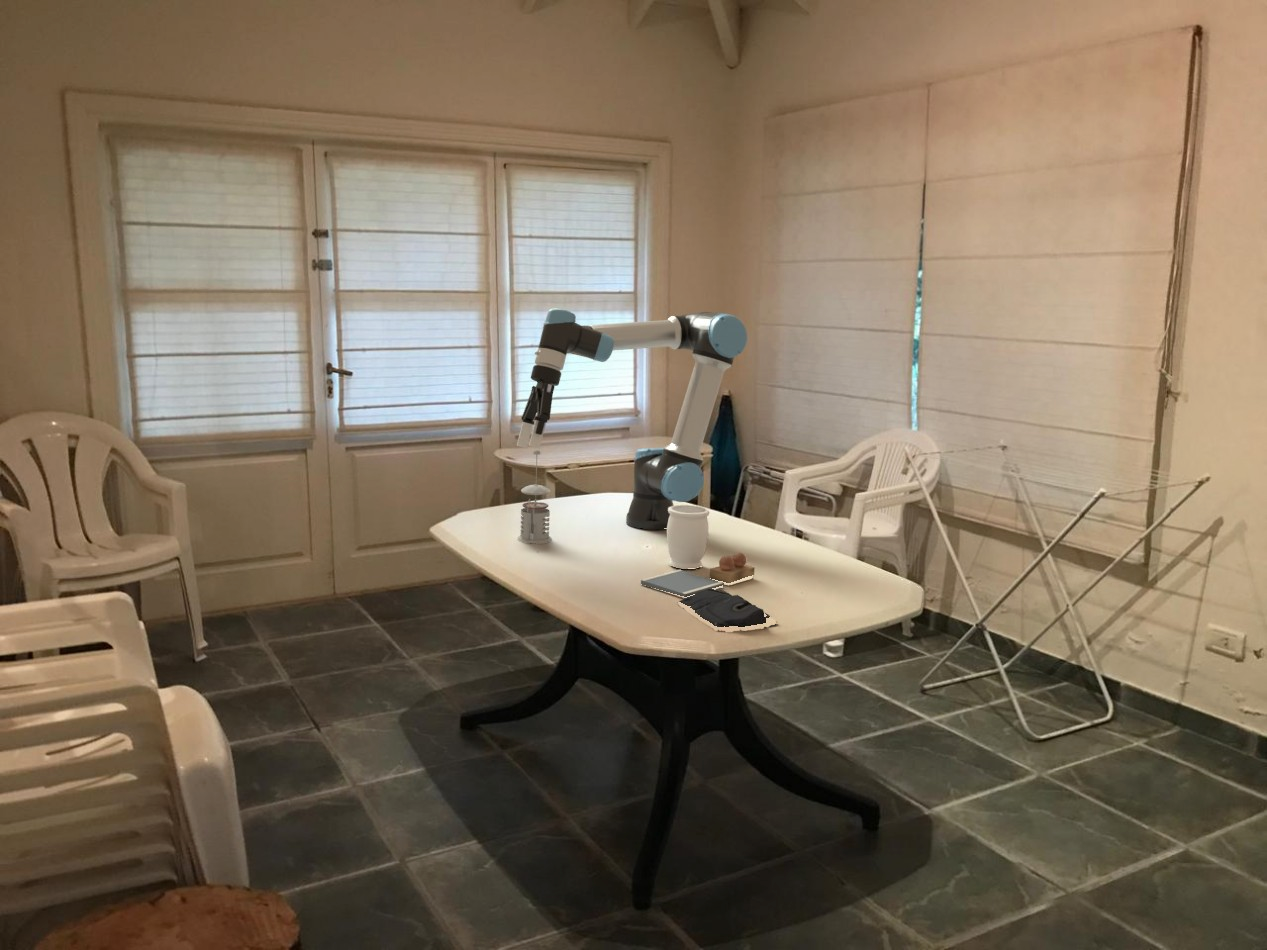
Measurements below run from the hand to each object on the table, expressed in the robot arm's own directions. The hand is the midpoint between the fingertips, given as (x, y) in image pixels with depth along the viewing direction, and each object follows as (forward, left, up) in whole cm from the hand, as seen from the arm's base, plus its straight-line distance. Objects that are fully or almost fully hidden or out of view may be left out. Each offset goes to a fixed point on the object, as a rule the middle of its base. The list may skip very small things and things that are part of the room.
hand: (527, 447), depth 263 cm
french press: (-9, -7, -28) cm, 30 cm away
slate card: (-9, +47, -28) cm, 55 cm away
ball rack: (-23, +51, -28) cm, 62 cm away
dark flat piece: (-1, +67, -28) cm, 73 cm away
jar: (-23, +36, -28) cm, 51 cm away
